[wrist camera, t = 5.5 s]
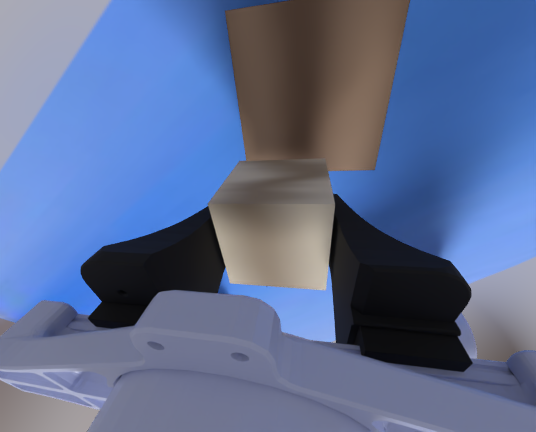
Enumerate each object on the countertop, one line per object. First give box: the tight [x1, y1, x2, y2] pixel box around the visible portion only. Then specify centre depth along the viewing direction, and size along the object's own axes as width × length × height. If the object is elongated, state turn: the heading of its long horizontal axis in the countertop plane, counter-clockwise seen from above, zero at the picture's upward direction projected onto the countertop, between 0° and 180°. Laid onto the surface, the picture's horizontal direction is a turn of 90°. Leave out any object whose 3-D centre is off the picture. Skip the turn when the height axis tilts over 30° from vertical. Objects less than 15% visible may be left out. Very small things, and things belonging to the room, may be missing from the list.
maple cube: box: [208, 158, 335, 290], centre depth 12 cm, size 5×5×5 cm
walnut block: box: [225, 0, 410, 171], centre depth 15 cm, size 10×10×3 cm
